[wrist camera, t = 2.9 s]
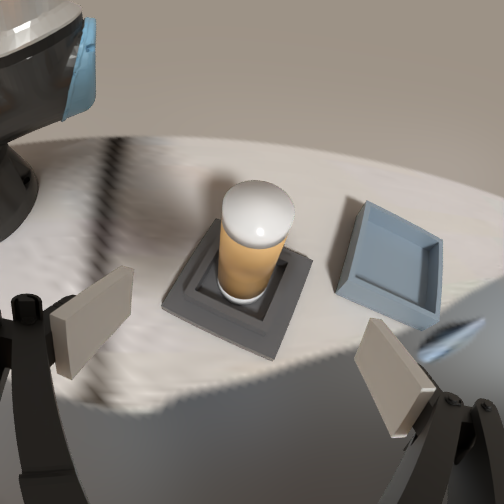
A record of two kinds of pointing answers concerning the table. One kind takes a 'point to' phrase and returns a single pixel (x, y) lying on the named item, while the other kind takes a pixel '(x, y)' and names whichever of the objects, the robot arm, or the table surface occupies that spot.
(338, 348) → the table surface
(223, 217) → the ball
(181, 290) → the block
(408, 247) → the parts tray
